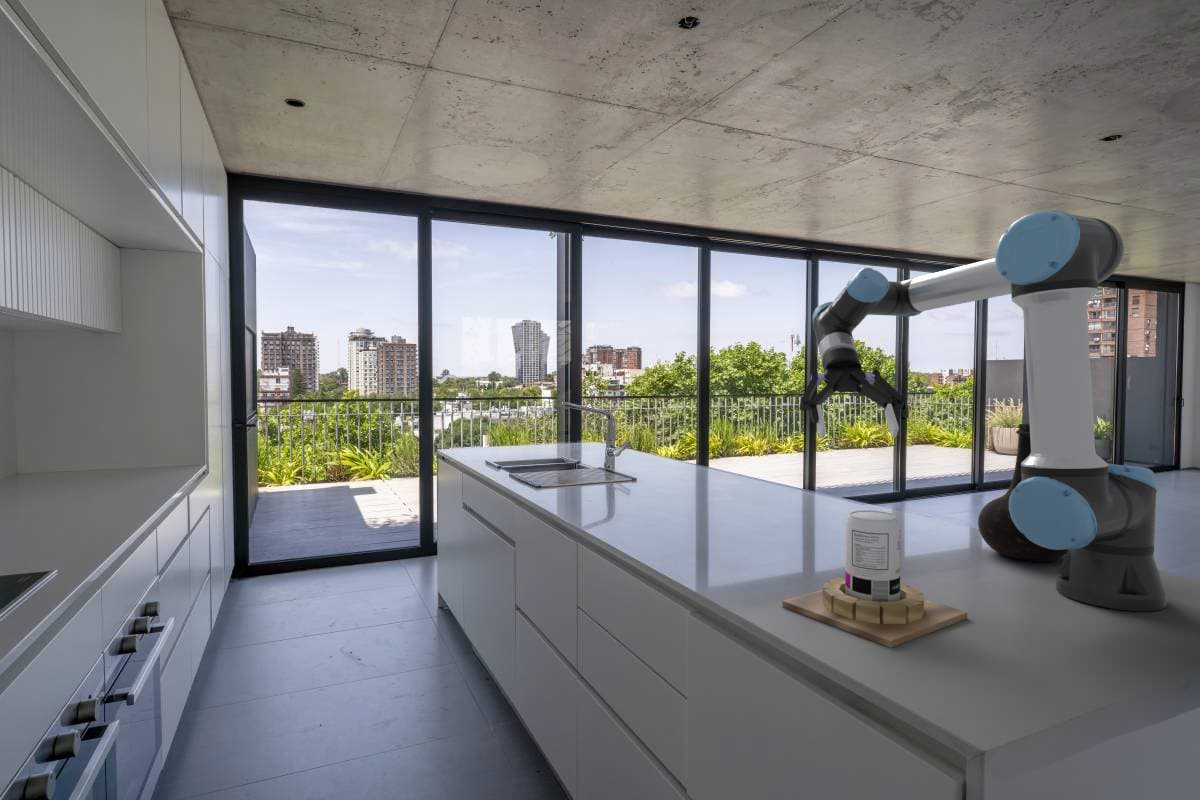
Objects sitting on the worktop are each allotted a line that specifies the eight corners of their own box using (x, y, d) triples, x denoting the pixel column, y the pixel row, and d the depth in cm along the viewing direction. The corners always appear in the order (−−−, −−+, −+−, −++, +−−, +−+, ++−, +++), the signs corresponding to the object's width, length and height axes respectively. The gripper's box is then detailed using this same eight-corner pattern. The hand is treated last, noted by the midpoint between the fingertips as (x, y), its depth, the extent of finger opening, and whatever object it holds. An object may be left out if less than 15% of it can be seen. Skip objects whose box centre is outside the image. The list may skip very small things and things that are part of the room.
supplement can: (834, 600, 111) (835, 511, 110) (876, 595, 113) (876, 508, 112) (867, 617, 103) (868, 522, 102) (911, 611, 105) (912, 518, 105)
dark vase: (966, 556, 139) (968, 424, 138) (992, 540, 152) (993, 419, 151) (1068, 574, 126) (1071, 428, 125) (1087, 555, 139) (1090, 422, 138)
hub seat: (967, 618, 105) (967, 596, 105) (890, 647, 94) (890, 623, 94) (858, 584, 122) (858, 566, 122) (782, 606, 111) (782, 585, 111)
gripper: (895, 369, 145) (921, 445, 130) (778, 371, 148) (791, 446, 133) (903, 344, 139) (931, 420, 125) (782, 346, 142) (795, 421, 128)
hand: (859, 433), depth 129 cm, fingers open, 13 cm apart
